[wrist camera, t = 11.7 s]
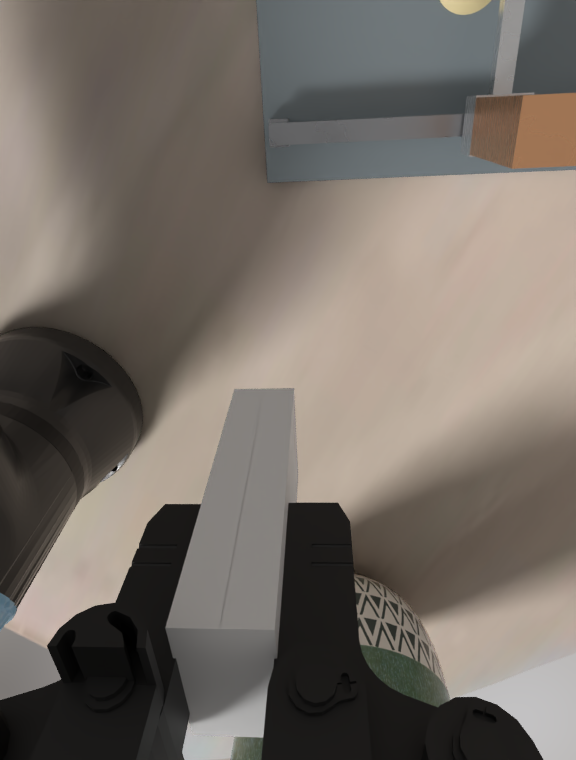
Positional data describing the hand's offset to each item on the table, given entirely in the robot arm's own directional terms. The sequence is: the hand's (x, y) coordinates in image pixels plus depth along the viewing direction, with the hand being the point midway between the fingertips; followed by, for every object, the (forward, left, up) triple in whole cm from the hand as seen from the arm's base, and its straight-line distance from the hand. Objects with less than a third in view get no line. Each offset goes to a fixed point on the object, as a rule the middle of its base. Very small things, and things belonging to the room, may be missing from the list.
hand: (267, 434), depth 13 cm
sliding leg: (+11, +9, -25) cm, 29 cm away
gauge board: (+13, +10, -26) cm, 31 cm away
